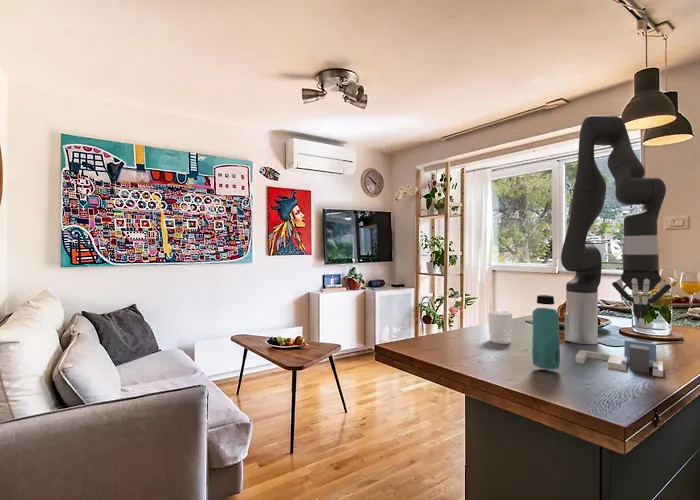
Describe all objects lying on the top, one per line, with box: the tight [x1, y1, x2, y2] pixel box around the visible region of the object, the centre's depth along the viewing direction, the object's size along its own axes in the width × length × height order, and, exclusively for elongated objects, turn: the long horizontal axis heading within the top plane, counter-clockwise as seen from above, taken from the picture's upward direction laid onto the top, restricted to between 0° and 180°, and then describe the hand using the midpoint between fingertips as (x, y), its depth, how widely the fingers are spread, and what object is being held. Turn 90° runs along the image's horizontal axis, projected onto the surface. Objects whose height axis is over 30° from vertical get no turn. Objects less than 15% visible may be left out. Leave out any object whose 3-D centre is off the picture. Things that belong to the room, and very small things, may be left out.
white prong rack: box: [574, 339, 664, 378], centre depth 103 cm, size 19×10×6 cm, turn 51°
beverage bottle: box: [531, 294, 561, 370], centre depth 98 cm, size 6×7×20 cm
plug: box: [629, 344, 650, 374], centre depth 100 cm, size 4×4×6 cm
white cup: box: [487, 310, 513, 345], centre depth 129 cm, size 8×8×10 cm
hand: (640, 318), depth 99 cm, fingers closed
